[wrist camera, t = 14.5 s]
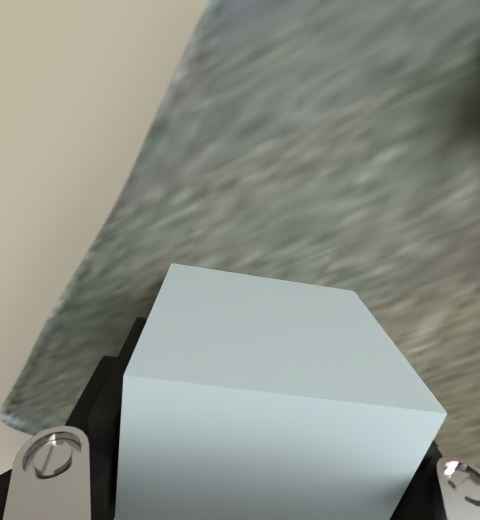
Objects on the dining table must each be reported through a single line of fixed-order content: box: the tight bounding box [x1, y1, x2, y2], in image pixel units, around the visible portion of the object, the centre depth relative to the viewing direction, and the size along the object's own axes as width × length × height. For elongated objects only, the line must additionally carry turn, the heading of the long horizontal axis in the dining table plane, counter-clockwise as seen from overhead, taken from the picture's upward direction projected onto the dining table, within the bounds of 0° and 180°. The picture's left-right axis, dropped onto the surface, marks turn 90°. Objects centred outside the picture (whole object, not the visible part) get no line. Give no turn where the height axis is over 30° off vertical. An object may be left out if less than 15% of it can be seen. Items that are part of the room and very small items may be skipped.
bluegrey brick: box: [115, 263, 447, 520], centre depth 9 cm, size 6×6×5 cm
